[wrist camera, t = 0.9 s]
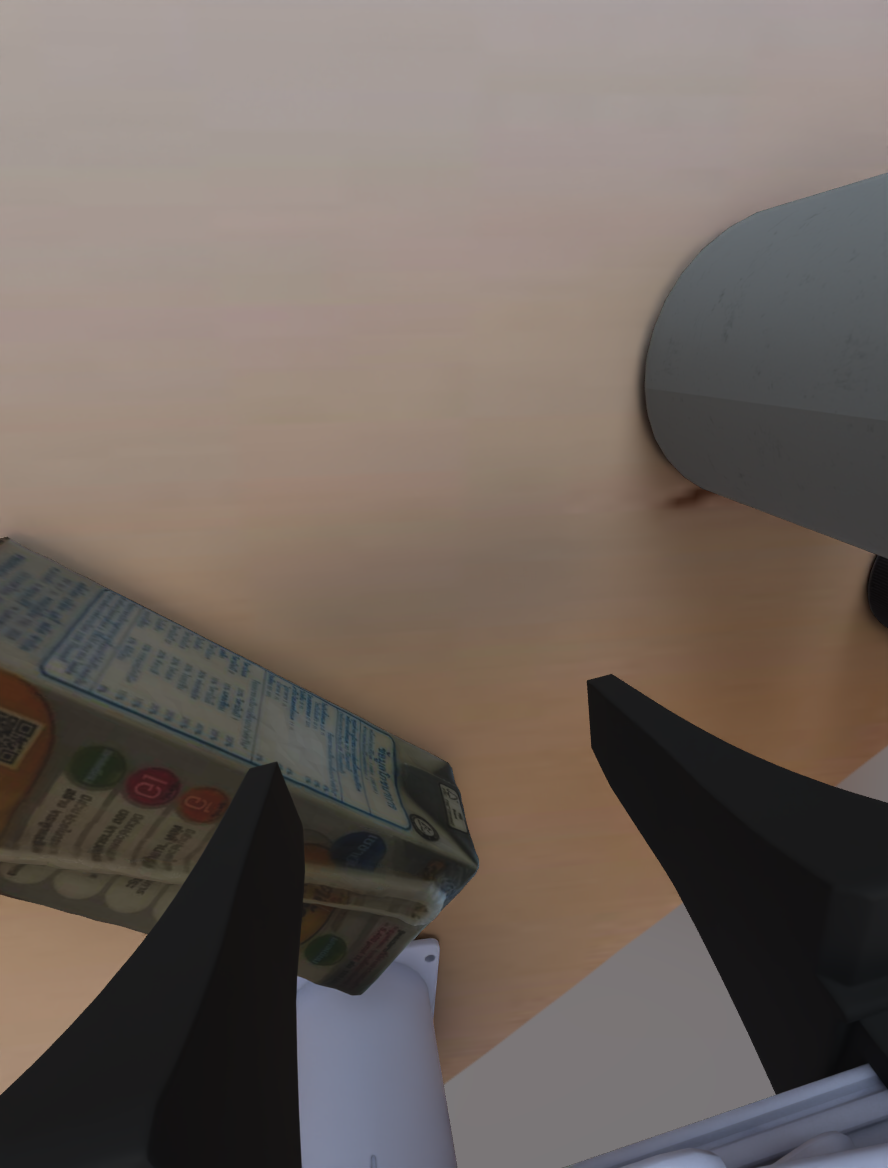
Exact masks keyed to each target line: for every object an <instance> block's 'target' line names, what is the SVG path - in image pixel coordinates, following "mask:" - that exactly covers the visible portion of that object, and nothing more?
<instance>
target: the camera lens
mask: <svg viewBox="0 0 888 1168" xmlns="http://www.w3.org/2000/svg"><path fill="white" fill-rule="evenodd" d="M868 599H869V605H870V608H871V610H872V612H873V614H874V616H875V617H876V618H877V619H878V621H879V622H880V623H882V624H883V625H884V626H885V627H887V628H888V559H887V558H885V557H882V556H879V555H878V556H877V558H876V560H875V563H874V565H873V568H872V570H871V573H870V579H869V585H868Z"/></svg>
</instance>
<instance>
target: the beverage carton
mask: <svg viewBox="0 0 888 1168" xmlns="http://www.w3.org/2000/svg"><path fill="white" fill-rule="evenodd" d="M276 761H277V762H278V765H279V767H280V770H281V772H282V775H283V777H284V780H285V782H286V785H287V787H288V790H289V792H290V795H291V797H292V800H293V802H294V805H295V807H296V810H297V812H298V815H299V817H300V820H301V822H302V825H303V837H304V857H305V880H304V894H303V909H302V922H301V935H300V948H299V961H298V975H297V976H298V977H301V978H304V979H307V980H308V981H310V982H312V983H314V984H317V985H320V986H324V987H329V988H333V989H337V990H339V991H341V992H344V993H346V994H349V995H352V996H355V995H362V994H363V993H364V992H365V991H366V990H367V989H368V988H369V987H370V986H371V985H372V984H373V983H374V982H375V981H376V980H377V979H378V978H379V977H380V976H381V975H382V973H383V972H384V971H385V970H386V969H387V968H388V967H389V966H390V964H391V963H392V962H393V961H394V960H395V959H396V958H397V957H398V956H399V955H400V953H401V952H402V951H403V950H404V949H405V948H406V947H407V946H408V945H409V944H410V943H411V942H412V941H413V940H414V939H415V938H416V937H417V936H418V934H419V933H420V932H421V931H422V930H423V929H424V928H425V927H426V926H427V925H428V924H429V923H430V922H431V921H433V920H434V919H435V918H436V917H437V916H438V914H439V912H440V911H441V910H442V909H443V908H444V907H445V906H446V905H447V904H448V903H449V902H450V901H451V900H452V899H453V898H454V897H455V896H456V895H457V894H458V893H459V892H460V891H461V890H462V889H463V888H464V887H465V885H466V884H467V883H468V882H469V881H470V880H471V879H472V878H473V877H474V876H475V874H476V872H477V870H478V868H479V858H478V856H477V854H476V851H475V849H474V845H473V842H472V839H471V836H470V833H469V830H468V826H467V822H466V818H465V813H464V808H463V804H462V801H461V794H460V791H459V789H458V787H457V786H456V784H455V780H454V776H453V771H452V768H451V766H450V765H449V763H448V762H446V761H444V760H442V759H440V758H438V757H436V756H434V755H432V754H430V753H428V752H427V751H425V750H423V749H421V748H418V747H416V746H414V745H412V744H410V743H408V742H406V741H404V740H403V739H401V738H399V737H397V736H395V735H393V734H391V733H389V732H387V731H385V730H383V729H381V728H379V727H377V726H375V725H374V724H372V723H370V722H368V721H366V720H364V719H362V718H361V717H359V716H357V715H355V714H353V713H351V712H349V711H347V710H345V709H343V708H341V707H339V706H337V705H335V704H333V703H331V702H329V701H327V700H325V699H323V698H321V697H319V696H317V695H316V694H314V693H312V692H310V691H308V690H306V689H304V688H302V687H300V686H298V685H296V684H294V683H292V682H290V681H288V680H286V679H284V678H282V677H280V676H278V675H276V674H274V673H273V672H271V671H269V670H267V669H265V668H263V667H261V666H260V665H258V664H256V663H254V662H252V661H250V660H248V659H246V658H244V657H242V656H240V655H238V654H236V653H234V652H232V651H230V650H228V649H226V648H224V647H222V646H220V645H218V644H216V643H214V642H212V641H210V640H208V639H206V638H204V637H202V636H200V635H198V634H197V633H195V632H193V631H191V630H189V629H187V628H185V627H183V626H181V625H179V624H177V623H175V622H173V621H171V620H169V619H167V618H165V617H163V616H161V615H159V614H157V613H155V612H153V611H151V610H149V609H147V608H145V607H143V606H141V605H139V604H137V603H135V602H134V601H132V600H130V599H128V598H126V597H124V596H122V595H120V594H118V593H116V592H114V591H112V590H110V589H108V588H106V587H104V586H101V585H99V584H98V583H96V582H94V581H92V580H90V579H88V578H86V577H84V576H82V575H80V574H78V573H75V572H73V571H71V570H70V569H68V568H66V567H64V566H62V565H60V564H58V563H56V562H55V561H53V560H51V559H49V558H47V557H45V556H42V555H40V554H38V553H35V552H33V551H31V550H29V549H27V548H25V547H23V546H22V545H20V544H18V543H17V542H15V541H13V540H12V539H10V538H8V537H4V538H0V894H1V895H4V896H7V897H11V898H15V899H19V900H23V901H28V902H32V903H36V904H40V905H44V906H47V907H51V908H54V909H57V910H61V911H64V912H67V913H71V914H76V915H80V916H84V917H87V918H90V919H93V920H96V921H101V922H105V923H110V924H114V925H119V926H122V927H126V928H129V929H132V930H135V931H139V932H142V933H145V934H149V932H150V931H151V930H152V928H153V927H154V926H155V924H156V923H157V922H158V920H159V919H160V917H161V916H162V915H163V913H164V912H165V910H166V909H167V907H168V906H169V905H170V903H171V902H172V900H173V899H174V897H175V896H176V894H177V893H178V891H179V890H180V888H181V886H182V885H183V883H184V882H185V880H186V879H187V877H188V875H189V874H190V872H191V871H192V869H193V868H194V866H195V864H196V863H197V861H198V860H199V858H200V856H201V855H202V853H203V851H204V850H205V848H206V846H207V844H208V843H209V841H210V839H211V837H212V836H213V834H214V832H215V830H216V829H217V827H218V825H219V823H220V822H221V820H222V818H223V816H224V814H225V812H226V811H227V809H228V807H229V805H230V803H231V801H232V799H233V798H234V796H235V794H236V792H237V790H238V788H239V786H240V784H241V782H242V780H243V779H244V777H245V775H246V773H247V772H248V770H249V769H250V768H253V767H257V766H261V765H265V764H269V763H272V762H276Z"/></svg>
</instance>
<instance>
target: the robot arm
mask: <svg viewBox="0 0 888 1168" xmlns="http://www.w3.org/2000/svg"><path fill="white" fill-rule="evenodd" d="M587 690H588V705H589V719H590V734H591V747H592V749H593V752H594V754H595V756H596V758H597V760H598V762H599V764H600V766H601V768H602V770H603V772H604V774H605V776H606V778H607V780H608V782H609V784H610V786H611V788H612V789H613V791H614V793H615V794H616V796H617V797H618V799H619V801H620V802H621V804H622V805H623V807H624V808H625V810H626V811H627V813H628V815H629V816H630V818H631V819H632V821H633V822H634V824H635V825H636V827H637V828H638V830H639V831H640V833H641V834H642V836H643V837H644V839H645V841H646V842H647V844H648V845H649V847H650V848H651V850H652V851H653V853H654V854H655V856H656V857H657V859H658V860H659V862H660V864H661V865H662V867H663V868H664V870H665V871H666V873H667V875H668V876H669V878H670V880H671V881H672V883H673V885H674V887H675V888H676V890H677V892H678V894H679V896H680V898H681V900H682V901H683V903H684V905H685V907H686V909H687V911H688V913H689V915H690V917H691V919H692V921H693V922H694V924H695V926H696V928H697V930H698V932H699V934H700V936H701V938H702V940H703V942H704V944H705V946H706V948H707V950H708V952H709V954H710V956H711V958H712V960H713V962H714V964H715V966H716V968H717V970H718V972H719V973H720V976H721V978H722V980H723V982H724V984H725V986H726V988H727V990H728V992H729V994H730V997H731V999H732V1001H733V1003H734V1005H735V1007H736V1009H737V1011H738V1013H739V1015H740V1017H741V1020H742V1021H743V1024H744V1026H745V1028H746V1030H747V1032H748V1034H749V1036H750V1038H751V1041H752V1043H753V1045H754V1047H755V1050H756V1052H757V1054H758V1056H759V1058H760V1060H761V1063H762V1065H763V1067H764V1069H765V1071H766V1074H767V1076H768V1078H769V1080H770V1082H771V1084H772V1087H773V1089H774V1091H775V1093H776V1095H774V1096H771V1097H769V1098H766V1099H762V1100H759V1101H757V1102H754V1103H751V1104H748V1105H745V1106H742V1107H739V1108H736V1109H733V1110H730V1111H727V1112H724V1113H721V1114H719V1115H716V1116H713V1117H710V1118H707V1119H704V1120H701V1121H698V1122H695V1123H692V1124H689V1125H686V1126H684V1127H680V1128H677V1129H675V1130H672V1131H669V1132H666V1133H663V1134H660V1135H657V1136H654V1137H651V1138H648V1139H645V1140H642V1141H639V1142H637V1143H634V1144H631V1145H628V1146H625V1147H622V1148H619V1149H616V1150H613V1151H610V1152H607V1153H604V1154H601V1155H598V1156H596V1157H593V1158H590V1159H587V1160H584V1161H581V1162H578V1163H575V1164H572V1165H569V1166H566V1167H563V1168H888V803H886V802H883V801H880V800H876V799H872V798H869V797H866V796H862V795H859V794H855V793H852V792H849V791H846V790H843V789H840V788H837V787H834V786H831V785H828V784H825V783H822V782H820V781H817V780H814V779H811V778H809V777H806V776H803V775H800V774H798V773H795V772H792V771H790V770H787V769H785V768H782V767H780V766H777V765H775V764H773V763H770V762H768V761H766V760H764V759H761V758H759V757H757V756H754V755H752V754H750V753H748V752H745V751H743V750H741V749H739V748H737V747H735V746H733V745H731V744H729V743H727V742H725V741H723V740H721V739H719V738H717V737H715V736H714V735H712V734H710V733H708V732H706V731H704V730H702V729H700V728H699V727H697V726H695V725H693V724H691V723H690V722H688V721H686V720H685V719H683V718H681V717H679V716H678V715H676V714H674V713H673V712H671V711H669V710H668V709H666V708H664V707H663V706H661V705H660V704H658V703H656V702H655V701H653V700H652V699H650V698H649V697H647V696H645V695H644V694H642V693H641V692H639V691H638V690H636V689H634V688H633V687H631V686H630V685H628V684H627V683H625V682H624V681H622V680H620V679H619V678H617V677H616V676H614V675H612V674H610V675H606V676H602V677H598V678H594V679H591V680H587ZM304 880H305V857H304V837H303V825H302V822H301V820H300V817H299V815H298V812H297V810H296V807H295V805H294V802H293V800H292V797H291V795H290V792H289V790H288V787H287V785H286V782H285V780H284V777H283V775H282V772H281V770H280V767H279V765H278V762H277V761H276V762H272V763H269V764H265V765H261V766H257V767H253V768H250V769H249V770H248V772H247V773H246V775H245V777H244V779H243V780H242V782H241V784H240V786H239V788H238V790H237V792H236V794H235V796H234V798H233V799H232V801H231V803H230V805H229V807H228V809H227V811H226V812H225V814H224V816H223V818H222V820H221V822H220V823H219V825H218V827H217V829H216V830H215V832H214V834H213V836H212V837H211V839H210V841H209V843H208V844H207V846H206V848H205V850H204V851H203V853H202V855H201V856H200V858H199V860H198V861H197V863H196V864H195V866H194V868H193V869H192V871H191V872H190V874H189V875H188V877H187V879H186V880H185V882H184V883H183V885H182V886H181V888H180V890H179V891H178V893H177V894H176V896H175V897H174V899H173V900H172V902H171V903H170V905H169V906H168V907H167V909H166V910H165V912H164V913H163V915H162V916H161V917H160V919H159V920H158V922H157V923H156V924H155V926H154V927H153V928H152V930H151V931H150V932H149V934H148V935H147V936H146V938H145V939H144V941H143V942H142V943H141V944H140V946H139V947H138V948H137V949H136V951H135V952H134V953H133V954H132V956H131V957H130V958H129V959H128V960H127V962H126V963H125V964H124V965H123V966H122V967H121V969H120V970H119V971H118V972H117V973H116V975H115V976H114V977H113V978H112V979H111V981H110V982H109V983H108V984H107V985H106V987H105V988H104V989H103V990H102V991H101V993H100V994H99V995H98V996H97V997H96V998H95V999H94V1001H93V1002H92V1003H91V1004H90V1005H89V1006H88V1007H87V1008H86V1009H85V1010H84V1011H83V1013H82V1014H81V1015H80V1016H79V1017H78V1018H77V1019H76V1020H75V1021H74V1022H73V1024H72V1025H71V1026H70V1027H69V1028H68V1029H67V1030H66V1031H65V1032H64V1033H63V1034H62V1035H61V1036H60V1037H59V1038H58V1039H57V1040H56V1041H55V1042H54V1043H53V1044H52V1045H51V1046H50V1048H49V1049H48V1050H47V1051H46V1052H45V1053H44V1054H43V1055H42V1056H41V1057H40V1058H39V1059H38V1060H37V1061H36V1062H35V1063H34V1064H33V1065H32V1066H31V1067H30V1068H28V1069H27V1070H26V1071H25V1072H24V1073H23V1074H22V1075H21V1076H20V1077H19V1078H18V1079H17V1080H16V1081H15V1082H14V1083H13V1084H12V1085H11V1086H10V1087H9V1088H8V1089H6V1090H5V1091H4V1092H3V1093H2V1094H1V1095H0V1168H457V1162H456V1156H455V1150H454V1144H453V1138H452V1132H451V1126H450V1120H449V1114H448V1108H447V1102H446V1096H445V1091H444V1084H443V1078H442V1072H441V1066H440V1060H439V1054H438V1048H437V1042H436V1036H435V1030H434V1024H433V1017H434V1007H435V996H436V985H437V975H438V964H439V953H440V947H439V942H438V941H437V939H434V938H426V939H419V940H413V941H412V942H411V943H410V944H409V945H408V946H407V947H406V948H405V949H404V950H403V951H402V952H401V953H400V955H399V956H398V957H397V958H396V959H395V960H394V961H393V962H392V963H391V964H390V966H389V967H388V968H387V969H386V970H385V971H384V972H383V973H382V975H381V976H380V977H379V978H378V979H377V980H376V981H375V982H374V983H373V984H372V985H371V986H370V987H369V988H368V989H367V990H366V991H365V992H364V993H363V994H362V995H355V996H352V995H349V994H346V993H344V992H341V991H339V990H337V989H333V988H329V987H324V986H320V985H317V984H314V983H312V982H310V981H308V980H307V979H304V978H301V977H298V976H297V975H298V961H299V948H300V935H301V922H302V909H303V894H304Z"/></svg>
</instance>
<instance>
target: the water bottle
mask: <svg viewBox="0 0 888 1168" xmlns="http://www.w3.org/2000/svg"><path fill="white" fill-rule="evenodd" d="M645 397H646V406H647V414H648V417H649V421H650V424H651V427H652V430H653V433H654V437H655V439H656V441H657V442H658V444H659V446H660V448H661V449H662V451H663V453H664V455H665V457H666V458H667V459H668V460H669V461H670V462H671V463H672V465H673V466H674V467H675V468H676V469H677V470H678V471H679V472H680V473H681V474H682V475H683V476H684V477H685V478H687V479H688V480H690V481H691V482H693V483H694V484H696V485H698V486H699V487H701V488H702V489H705V490H707V491H710V492H713V493H715V494H718V495H721V496H723V497H726V498H729V499H731V500H734V501H737V502H739V503H742V504H745V505H747V506H750V507H752V508H755V509H758V510H760V511H763V512H766V513H768V514H771V515H774V516H776V517H779V518H782V519H784V520H787V521H789V522H792V523H795V524H797V525H800V526H803V527H805V528H808V529H811V530H813V531H816V532H819V533H821V534H824V535H827V536H829V537H832V538H834V539H837V540H840V541H842V542H845V543H848V544H850V545H853V546H856V547H858V548H861V549H864V550H866V551H869V552H872V553H874V554H877V555H879V556H882V557H885V558H887V559H888V173H885V174H882V175H879V176H875V177H872V178H869V179H865V180H862V181H859V182H856V183H852V184H849V185H846V186H842V187H839V188H836V189H832V190H829V191H826V192H823V193H819V194H816V195H813V196H809V197H806V198H803V199H799V200H796V201H793V202H790V203H786V204H783V205H780V206H776V207H773V208H770V209H767V210H763V211H760V212H757V213H755V214H753V215H751V216H750V217H748V218H746V219H744V220H742V221H740V222H738V223H737V224H735V225H733V226H731V227H730V228H728V229H727V230H726V231H724V232H723V233H722V234H721V235H720V236H718V237H717V238H716V239H715V240H713V241H712V242H711V243H710V244H709V245H707V246H706V247H705V248H704V249H702V251H701V252H700V253H699V254H698V255H697V256H696V258H695V259H694V260H693V261H692V262H691V263H690V265H689V266H688V267H687V268H686V269H685V270H684V271H683V273H682V274H681V276H680V277H679V279H678V281H677V282H676V284H675V285H674V287H673V289H672V290H671V292H670V294H669V295H668V297H667V299H666V300H665V302H664V305H663V307H662V310H661V312H660V315H659V317H658V319H657V322H656V324H655V327H654V329H653V333H652V337H651V342H650V346H649V350H648V354H647V359H646V373H645Z"/></svg>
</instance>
